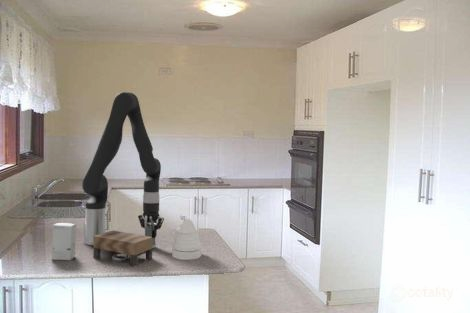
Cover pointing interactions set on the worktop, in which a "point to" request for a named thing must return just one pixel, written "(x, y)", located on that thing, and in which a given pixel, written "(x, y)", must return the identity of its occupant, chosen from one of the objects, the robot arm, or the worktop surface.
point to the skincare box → (63, 241)
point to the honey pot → (186, 241)
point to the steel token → (119, 257)
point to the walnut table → (123, 244)
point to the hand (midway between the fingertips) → (150, 237)
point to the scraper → (147, 233)
